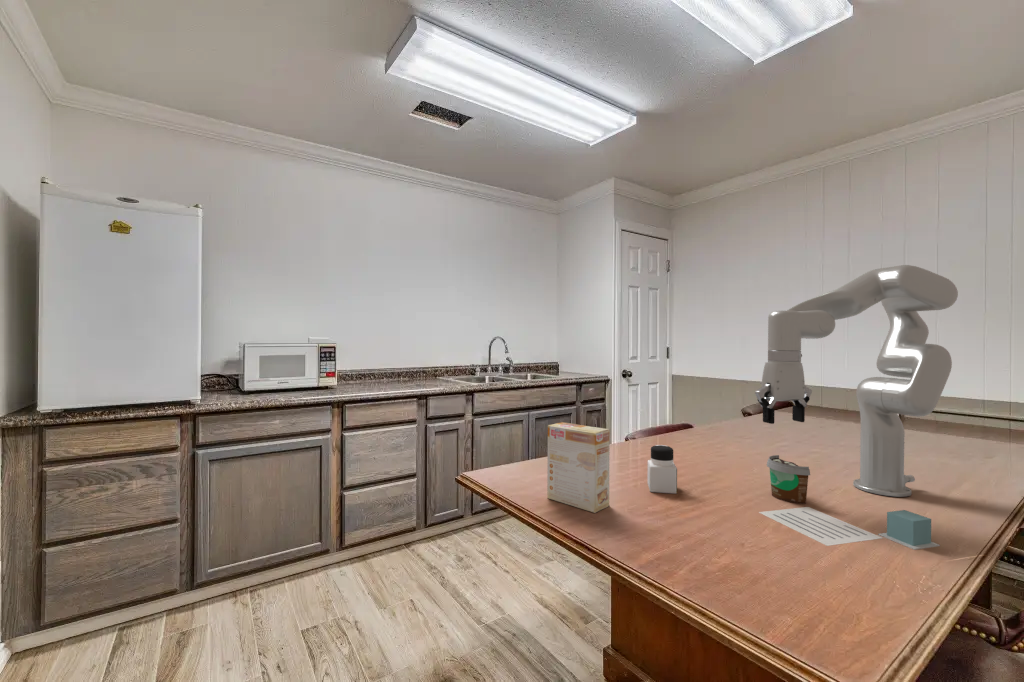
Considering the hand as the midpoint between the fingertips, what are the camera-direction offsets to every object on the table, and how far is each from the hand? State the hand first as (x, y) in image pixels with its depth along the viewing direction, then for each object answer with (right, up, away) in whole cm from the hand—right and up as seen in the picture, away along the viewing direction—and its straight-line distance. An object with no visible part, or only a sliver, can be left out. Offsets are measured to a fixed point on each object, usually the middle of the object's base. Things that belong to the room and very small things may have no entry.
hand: (783, 422), depth 118 cm
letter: (-3, -20, -17) cm, 26 cm away
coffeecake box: (-55, -20, -3) cm, 59 cm away
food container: (0, -21, 0) cm, 21 cm away
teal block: (+11, -20, -25) cm, 34 cm away
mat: (+11, -21, -25) cm, 34 cm away
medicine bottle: (-30, -20, +7) cm, 37 cm away
